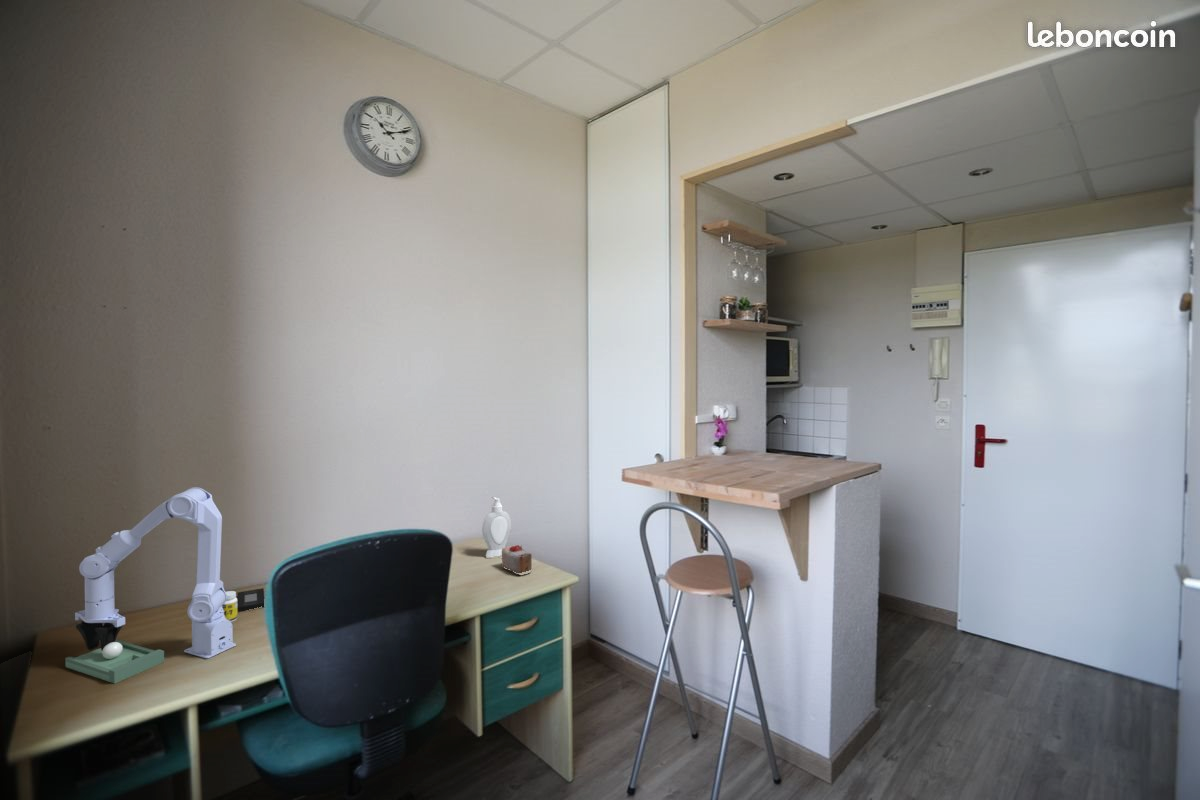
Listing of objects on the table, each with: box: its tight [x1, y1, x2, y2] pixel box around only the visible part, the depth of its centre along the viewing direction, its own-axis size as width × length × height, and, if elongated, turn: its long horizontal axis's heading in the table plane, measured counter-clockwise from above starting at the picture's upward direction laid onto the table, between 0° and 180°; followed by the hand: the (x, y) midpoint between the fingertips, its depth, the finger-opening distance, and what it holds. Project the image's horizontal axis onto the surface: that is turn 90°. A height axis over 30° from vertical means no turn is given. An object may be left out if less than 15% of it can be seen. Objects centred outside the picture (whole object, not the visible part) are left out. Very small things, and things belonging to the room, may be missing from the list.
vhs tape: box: [236, 587, 265, 613], centre depth 182 cm, size 8×14×2 cm, turn 33°
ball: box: [102, 642, 123, 659], centre depth 143 cm, size 4×4×4 cm
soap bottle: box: [481, 496, 512, 557], centre depth 232 cm, size 13×8×24 cm, turn 123°
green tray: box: [65, 638, 165, 684], centre depth 142 cm, size 20×11×3 cm, turn 69°
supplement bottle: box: [222, 590, 238, 623], centre depth 168 cm, size 5×5×8 cm
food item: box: [501, 544, 533, 573], centre depth 215 cm, size 14×8×10 cm, turn 41°
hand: (100, 649), depth 144 cm, fingers open, 4 cm apart
